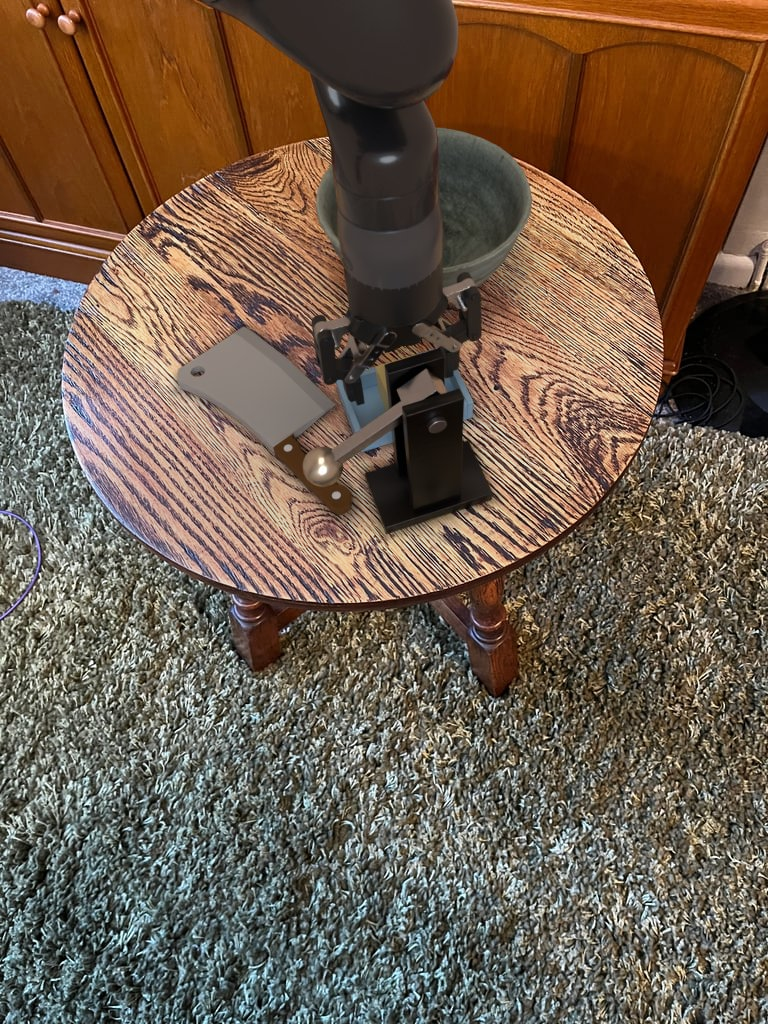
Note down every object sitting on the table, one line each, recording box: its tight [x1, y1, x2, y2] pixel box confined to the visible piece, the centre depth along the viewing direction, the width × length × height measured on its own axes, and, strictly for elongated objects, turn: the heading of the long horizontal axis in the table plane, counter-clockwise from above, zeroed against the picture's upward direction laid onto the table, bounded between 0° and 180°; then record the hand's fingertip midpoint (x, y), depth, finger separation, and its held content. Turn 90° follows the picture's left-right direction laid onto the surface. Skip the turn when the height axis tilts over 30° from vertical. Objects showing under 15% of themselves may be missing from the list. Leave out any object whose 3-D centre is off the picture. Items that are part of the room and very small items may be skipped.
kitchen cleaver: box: [177, 326, 353, 516], centre depth 74 cm, size 24×1×10 cm
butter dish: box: [335, 347, 474, 453], centre depth 73 cm, size 11×7×2 cm, turn 108°
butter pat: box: [375, 353, 417, 411], centre depth 72 cm, size 4×4×4 cm
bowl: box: [315, 127, 533, 288], centre depth 78 cm, size 21×21×10 cm
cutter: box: [364, 347, 494, 535], centre depth 62 cm, size 10×6×16 cm, turn 108°
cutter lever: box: [303, 369, 447, 487], centre depth 59 cm, size 13×3×3 cm
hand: (401, 384), depth 71 cm, fingers open, 8 cm apart
